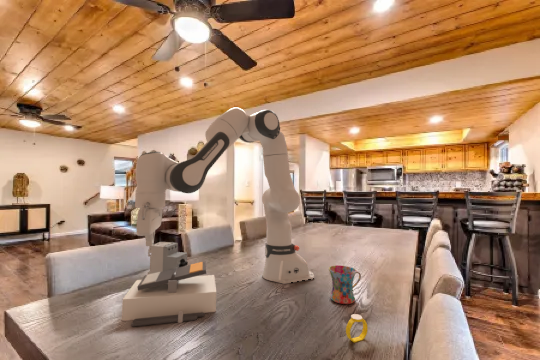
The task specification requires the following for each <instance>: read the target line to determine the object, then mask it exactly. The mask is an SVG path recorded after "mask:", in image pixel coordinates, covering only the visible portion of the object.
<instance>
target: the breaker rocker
mask: <svg viewBox="0 0 540 360" xmlns="http://www.w3.org/2000/svg"><path fill="white" fill-rule="evenodd" d="M147 274H148V273H147ZM147 274H146V275H144V276H143V277H142V279H141V280H142V281H141V282H140V284H139V285H138V286H137V287H138V290H143V289H147V288H151V287H155V286H159V285H163V284H167V283H168V281H169V280H177V281H179V280H183V279H187V278H191V277H195V276H204V275H207V261H199V262H196V263H191V264H188V265H187V266H184V267H179V268H177V267H176V268H174V269H171V270H167V271H162V272H157V273H152V274H148V275H147Z"/></svg>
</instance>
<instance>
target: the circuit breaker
mask: <svg viewBox="0 0 540 360" xmlns="http://www.w3.org/2000/svg"><path fill="white" fill-rule="evenodd" d="M178 247H179V245H178V242H166V241H159V242H157V243H153V244H152V246H148V251H147V256H148V257H149V270H148V272H147V273H146V275H148V274H152V273H157V272H162V271H167V270H171V269H174V268H176V267H177V268H179V267H184V266H188V265H189V263H188V262H189V261H188V252H182V251H181V252H180V251H178V250H179V249H178Z"/></svg>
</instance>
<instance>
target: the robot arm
mask: <svg viewBox="0 0 540 360" xmlns="http://www.w3.org/2000/svg"><path fill="white" fill-rule="evenodd" d="M204 136H205V140H206V142H205V144H204V145H203V147H202V148H201V149H200V150H198V152H196V154H195V155H194V156H193V157H191V158H189V159H187V160H184V161H181V162H178V161H176V160H173V159H172V158H170V157H169V156H167V155H166V154H165V153H164V152H161V151H149V152H145V153H142V154H141V155H139V156H138V158H137V161H136V167H135V182H136V189H135V190H134V191H135V193H134V194H135V195H134V196H135V197H134V208H136V209H138V211H137V218H136V235H137V236H138V237H144V239H145V246H146V247H149V246H152V245H153V244H155V243H154V241H155V234H156V230H158V229H159V227H161V225H162V219H163V211H164V210H163V209H164V208H166V191H167V190H170V191H171V192H172V191H173V192H178V193H182V194H183V193H184V194H193V193H196V192H198V191H199V190H200V189H201V188H202V186H203V185H204V183H205V180H206V176H207V174H208V173H209V171H210V170H211V168H212V167H213V166H214V165H215V163H216V162H217V161H218V160H219V159H220V158H221V156H222V155H223V154H224V152H226V150H228V149H229V148H231V147H232V146H233V144H235V143H236V141H237V140H238V139H240V140H241V141H242V142H244V143H249V144H251V143H254V142H259V143H260V144H261V147H262V159H263V160H262V161H263V170H264V171H263V172H264V176H265V178H266V179H267V183H268V186H269V188H268V189H266V190H265V191H263V193H262V197H261V201H262V203H263V207H264V208H263V210H264V215H265V222H266V243H265V248H264V255H265V256H264V257H265V261H264V266H263V270H262V274H261V277H262V278H263V279H265V280H267V281H271V282H276V283H280V284H285V285H286V284H291V282H293V283H297V281H299V282H303V281H302V280H305V281H309V280H308V279H311V280H314V279H315V274H314V273H313V271H311V270H310V269H309V268H310V267H309V264H308V262H307V261H306V260H305V259H304V257H302V256H301V255H300V254H298V253H297V252H299V250H300V246H299V245H295V244H293V243H292V241H293V239H292V237H293V236H292V235H293V234H292V233H293V232H292V231H293V228H292V227H293V226H292V223H291V221H290V217H289V213H292V212H294V211H296V210H297V209H298V208H299V206H300V205H301V204H300V202H301V198H300V195H299V193H298V192H297V190H296V188H295V185H294V182H293V178H292V175H291V170H290V162H289V152H288V146H287V142H286V141H287V140H286V137H285V135H284V133H283V132H282V131H281V124H280V121H279V117H278V115H277V114H276V113H275V112H274V111H273V110H271V109H263V110H262V109H261V110H259V111H257V112H255V113H252V114H250V115H248V114H247V113H246V112H245V110H243V109H242V108H240V107H238V106H237V107H231V108H230V109H228V110H226V111H225V112H224V113H222V114H220V115H219V116H218V117H217V118H216V119H215V120H213V122H212V123H211V124H210V125H209V126H208V128H207V129H206V131H205V135H204ZM313 278H314V279H313Z"/></svg>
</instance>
